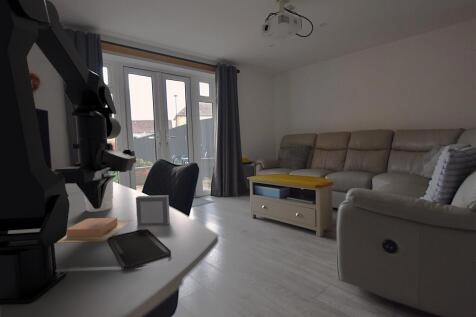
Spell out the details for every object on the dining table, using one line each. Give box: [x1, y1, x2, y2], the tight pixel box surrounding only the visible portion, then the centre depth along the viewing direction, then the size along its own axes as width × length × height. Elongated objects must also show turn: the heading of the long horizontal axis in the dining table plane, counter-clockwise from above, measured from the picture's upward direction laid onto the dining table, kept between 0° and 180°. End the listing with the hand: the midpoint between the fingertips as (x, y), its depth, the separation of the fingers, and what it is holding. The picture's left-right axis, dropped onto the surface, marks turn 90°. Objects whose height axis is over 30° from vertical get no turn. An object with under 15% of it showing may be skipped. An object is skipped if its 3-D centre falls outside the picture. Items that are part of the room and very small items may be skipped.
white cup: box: [83, 173, 114, 213], centre depth 72 cm, size 8×8×10 cm
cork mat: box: [55, 219, 133, 244], centre depth 55 cm, size 13×11×1 cm
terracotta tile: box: [67, 217, 118, 237], centre depth 54 cm, size 2×7×7 cm
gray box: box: [135, 194, 171, 227], centre depth 57 cm, size 2×7×7 cm, turn 90°
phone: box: [107, 228, 172, 272], centre depth 46 cm, size 8×1×15 cm
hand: (97, 208), depth 56 cm, fingers closed
